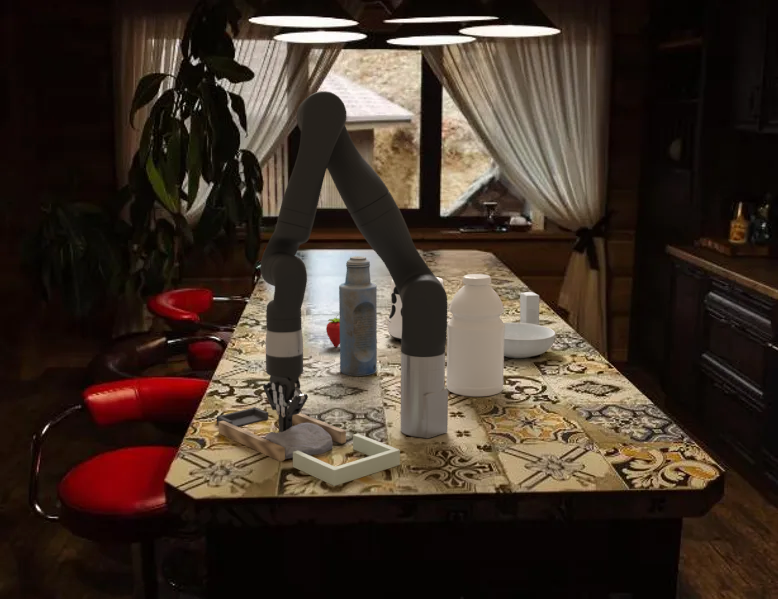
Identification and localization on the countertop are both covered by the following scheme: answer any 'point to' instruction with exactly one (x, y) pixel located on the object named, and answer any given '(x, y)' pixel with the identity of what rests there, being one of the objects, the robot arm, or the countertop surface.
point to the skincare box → (529, 308)
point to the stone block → (302, 439)
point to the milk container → (397, 312)
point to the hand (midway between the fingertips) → (285, 432)
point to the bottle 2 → (475, 339)
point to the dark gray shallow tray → (244, 417)
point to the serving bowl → (526, 340)
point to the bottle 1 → (358, 319)
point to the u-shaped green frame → (377, 461)
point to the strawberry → (334, 331)
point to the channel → (270, 447)
